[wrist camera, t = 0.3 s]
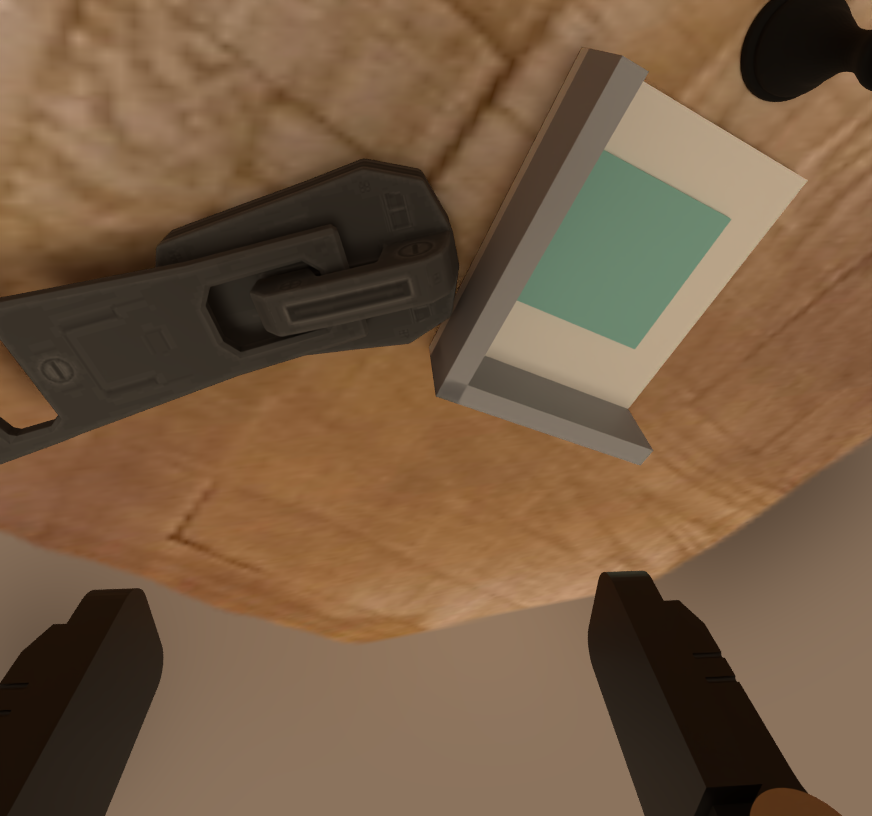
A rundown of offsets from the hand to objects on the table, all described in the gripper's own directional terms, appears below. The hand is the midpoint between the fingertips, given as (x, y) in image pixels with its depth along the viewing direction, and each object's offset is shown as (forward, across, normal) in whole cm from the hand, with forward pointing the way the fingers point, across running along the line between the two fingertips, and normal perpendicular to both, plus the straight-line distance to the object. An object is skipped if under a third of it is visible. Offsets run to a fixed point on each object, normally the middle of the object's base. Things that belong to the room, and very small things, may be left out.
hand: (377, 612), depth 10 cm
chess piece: (+21, -18, -11) cm, 30 cm away
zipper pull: (+22, +9, 0) cm, 24 cm away
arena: (+22, -11, 0) cm, 25 cm away
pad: (+21, -12, -1) cm, 24 cm away
